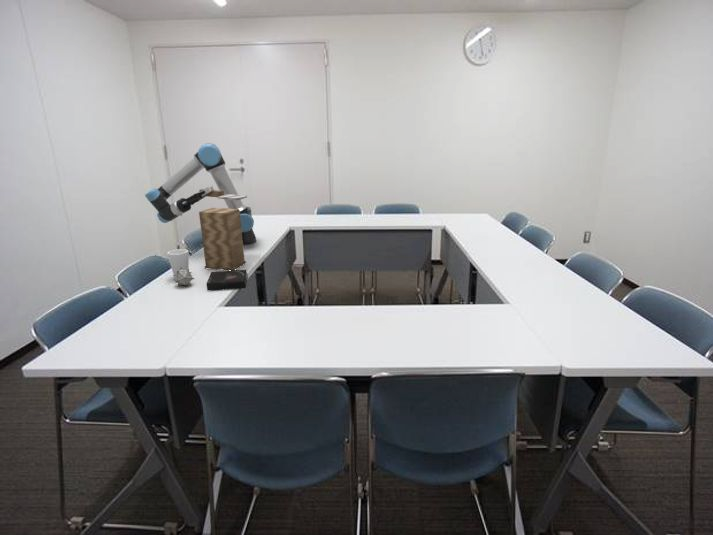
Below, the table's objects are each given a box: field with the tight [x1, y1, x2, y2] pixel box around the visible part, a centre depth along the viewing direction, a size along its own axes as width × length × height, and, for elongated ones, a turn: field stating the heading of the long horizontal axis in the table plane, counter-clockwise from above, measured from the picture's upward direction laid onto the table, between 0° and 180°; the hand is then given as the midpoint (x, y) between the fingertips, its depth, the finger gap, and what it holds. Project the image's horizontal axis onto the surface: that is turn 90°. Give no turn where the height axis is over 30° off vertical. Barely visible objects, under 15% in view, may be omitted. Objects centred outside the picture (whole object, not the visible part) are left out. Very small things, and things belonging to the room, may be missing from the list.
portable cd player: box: [206, 269, 248, 291], centre depth 190 cm, size 16×17×4 cm
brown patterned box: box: [198, 207, 247, 271], centre depth 210 cm, size 17×13×30 cm
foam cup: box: [167, 248, 190, 277], centre depth 196 cm, size 10×9×13 cm
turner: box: [198, 188, 248, 201], centre depth 219 cm, size 25×10×3 cm, turn 77°
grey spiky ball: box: [172, 268, 195, 288], centre depth 187 cm, size 9×8×10 cm
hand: (211, 188), depth 219 cm, fingers closed on turner, 3 cm apart
